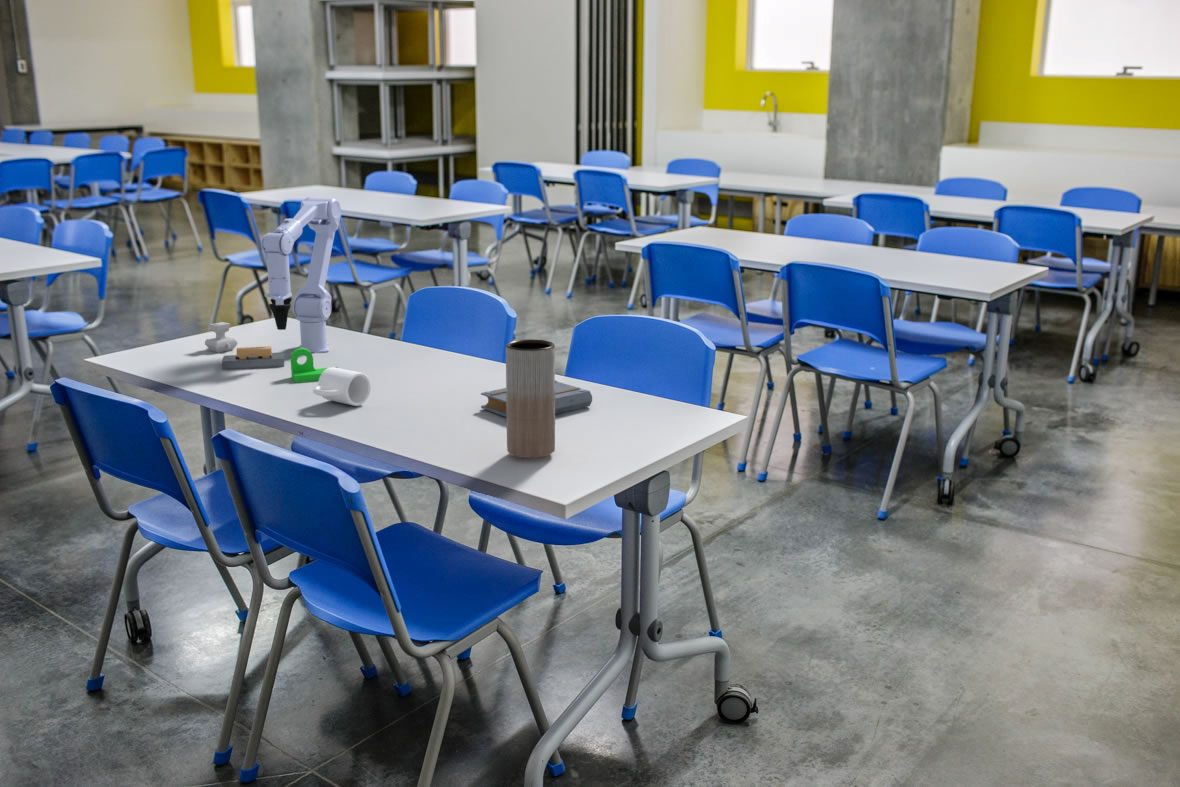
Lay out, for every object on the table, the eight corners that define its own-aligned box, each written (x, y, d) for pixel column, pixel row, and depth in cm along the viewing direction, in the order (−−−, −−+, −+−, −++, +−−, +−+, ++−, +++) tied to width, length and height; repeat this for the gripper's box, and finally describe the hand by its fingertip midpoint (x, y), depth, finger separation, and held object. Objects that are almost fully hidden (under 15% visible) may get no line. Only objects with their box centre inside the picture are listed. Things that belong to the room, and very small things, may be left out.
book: (523, 424, 252) (523, 403, 251) (480, 409, 264) (479, 389, 262) (592, 408, 265) (592, 388, 264) (548, 394, 277) (548, 375, 276)
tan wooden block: (238, 365, 303) (237, 347, 302) (272, 364, 305) (271, 346, 304) (237, 367, 301) (236, 350, 299) (272, 366, 303) (270, 348, 301)
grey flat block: (224, 364, 304) (223, 355, 304) (284, 361, 308) (284, 353, 307) (222, 370, 298) (221, 361, 297) (284, 367, 301) (283, 358, 301)
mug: (343, 395, 273) (341, 364, 271) (371, 402, 268) (370, 370, 266) (305, 406, 264) (303, 373, 262) (334, 412, 258) (332, 379, 256)
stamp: (203, 351, 320) (200, 323, 318) (223, 348, 325) (221, 319, 323) (219, 356, 314) (217, 327, 312) (240, 352, 319) (238, 324, 317)
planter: (516, 441, 237) (515, 337, 231) (561, 446, 234) (561, 341, 229) (499, 455, 228) (498, 347, 222) (545, 460, 225) (545, 351, 219)
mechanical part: (295, 383, 286) (293, 353, 284) (291, 378, 291) (289, 348, 289) (342, 379, 290) (340, 349, 288) (337, 374, 295) (336, 345, 293)
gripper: (264, 273, 306) (268, 322, 309) (262, 282, 292) (265, 332, 295) (291, 273, 307) (294, 321, 311) (290, 281, 293) (293, 331, 297)
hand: (282, 326), depth 303 cm, fingers open, 7 cm apart
